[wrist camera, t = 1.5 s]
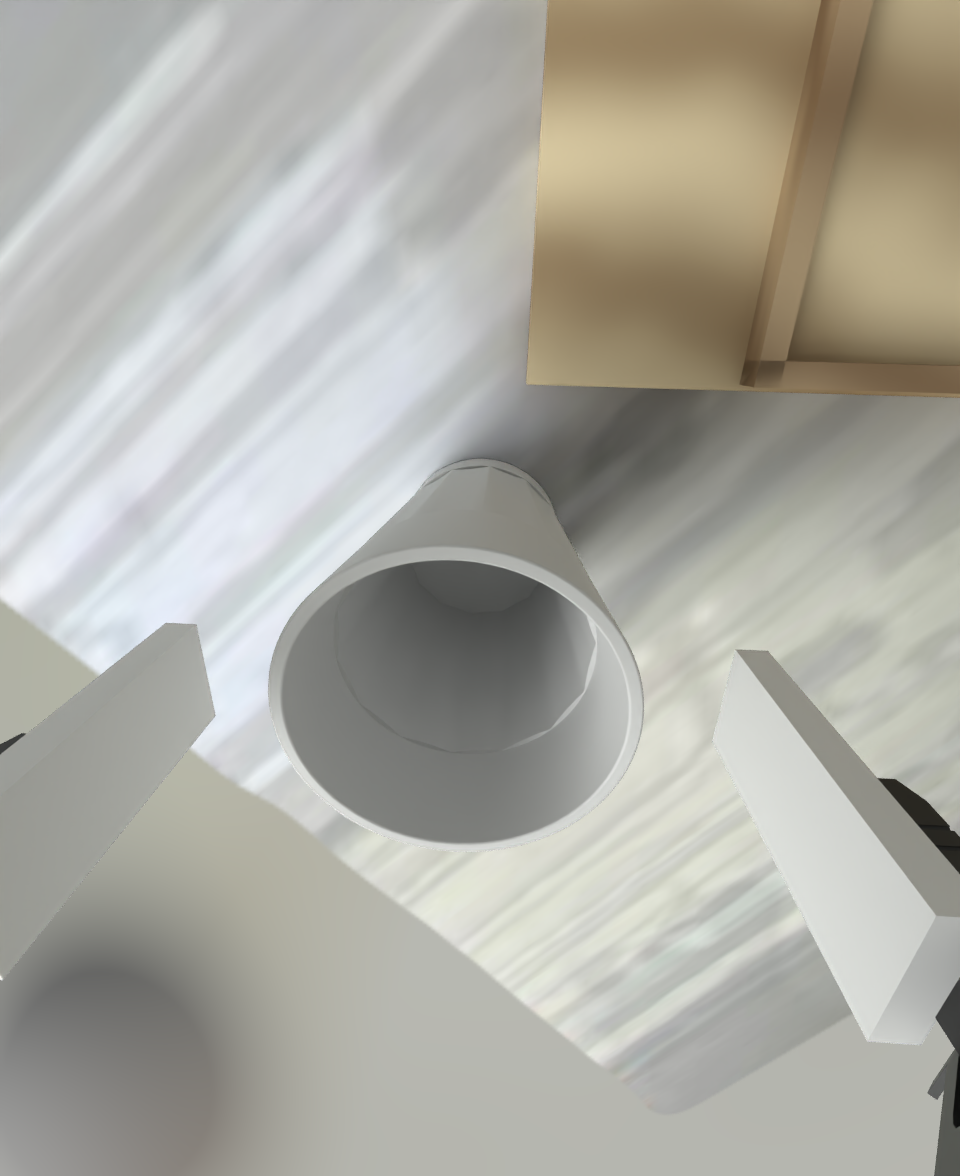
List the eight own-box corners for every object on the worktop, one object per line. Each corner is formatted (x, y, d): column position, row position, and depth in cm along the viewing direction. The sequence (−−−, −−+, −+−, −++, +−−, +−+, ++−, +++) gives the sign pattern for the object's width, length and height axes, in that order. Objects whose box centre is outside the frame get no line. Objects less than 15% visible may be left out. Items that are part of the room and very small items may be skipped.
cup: (584, 436, 21) (669, 547, 10) (572, 621, 24) (624, 859, 13) (377, 437, 21) (233, 543, 10) (393, 619, 24) (298, 846, 13)
